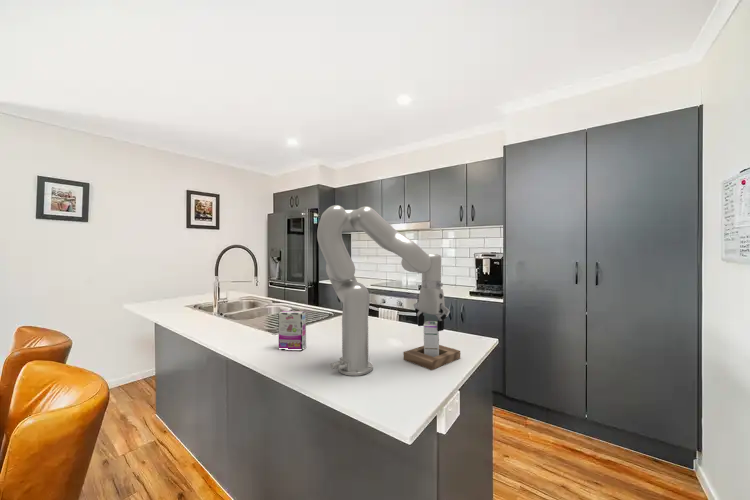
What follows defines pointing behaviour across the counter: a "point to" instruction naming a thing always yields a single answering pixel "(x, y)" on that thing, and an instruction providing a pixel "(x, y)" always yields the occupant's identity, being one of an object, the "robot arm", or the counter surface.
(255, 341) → the counter surface
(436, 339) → the syrup box
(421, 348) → the square wooden frame
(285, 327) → the candy bar box
